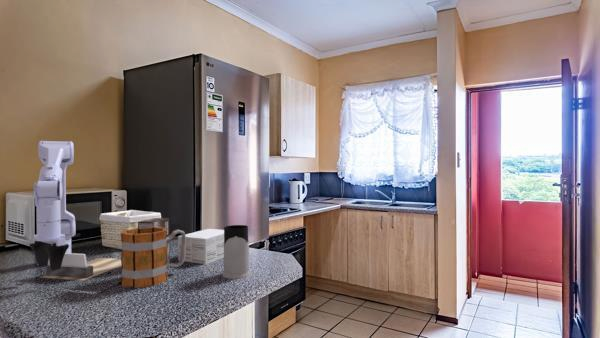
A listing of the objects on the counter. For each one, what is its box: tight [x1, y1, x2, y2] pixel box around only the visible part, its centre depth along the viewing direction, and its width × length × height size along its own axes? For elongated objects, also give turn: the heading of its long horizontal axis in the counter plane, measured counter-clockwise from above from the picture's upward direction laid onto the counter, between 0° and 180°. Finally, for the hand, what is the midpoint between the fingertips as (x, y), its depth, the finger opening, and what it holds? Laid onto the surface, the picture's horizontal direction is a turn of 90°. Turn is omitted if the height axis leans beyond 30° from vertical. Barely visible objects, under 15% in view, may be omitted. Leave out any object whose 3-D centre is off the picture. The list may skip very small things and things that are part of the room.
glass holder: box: [222, 224, 252, 280], centre depth 113 cm, size 9×14×15 cm, turn 9°
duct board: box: [40, 257, 122, 281], centre depth 118 cm, size 16×24×4 cm, turn 167°
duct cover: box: [47, 252, 88, 268], centre depth 108 cm, size 14×4×1 cm
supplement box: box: [177, 228, 224, 265], centre depth 134 cm, size 17×13×9 cm
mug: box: [120, 227, 186, 289], centre depth 108 cm, size 20×14×15 cm
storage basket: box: [99, 209, 162, 251], centre depth 155 cm, size 24×16×15 cm
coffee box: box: [138, 217, 171, 263], centre depth 122 cm, size 9×6×16 cm
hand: (49, 267), depth 103 cm, fingers open, 7 cm apart
